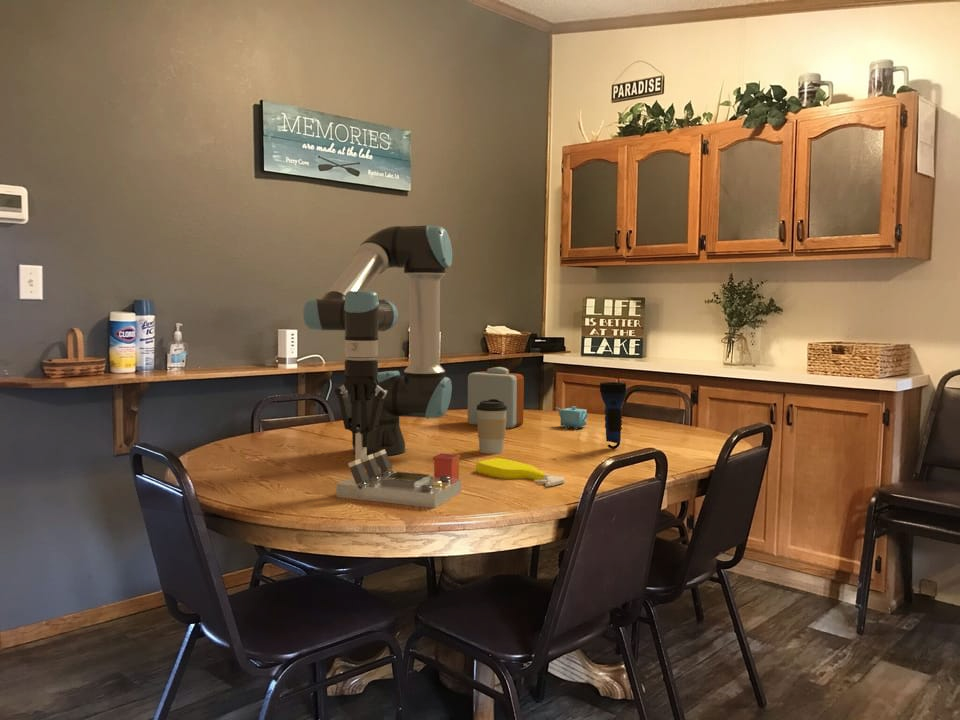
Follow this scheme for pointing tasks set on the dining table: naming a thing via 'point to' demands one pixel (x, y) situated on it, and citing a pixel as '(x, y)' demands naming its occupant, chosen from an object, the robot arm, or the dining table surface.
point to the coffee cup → (491, 426)
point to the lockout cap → (446, 465)
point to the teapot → (573, 417)
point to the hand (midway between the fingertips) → (361, 460)
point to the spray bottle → (515, 471)
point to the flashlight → (613, 409)
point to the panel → (401, 489)
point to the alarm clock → (497, 393)
